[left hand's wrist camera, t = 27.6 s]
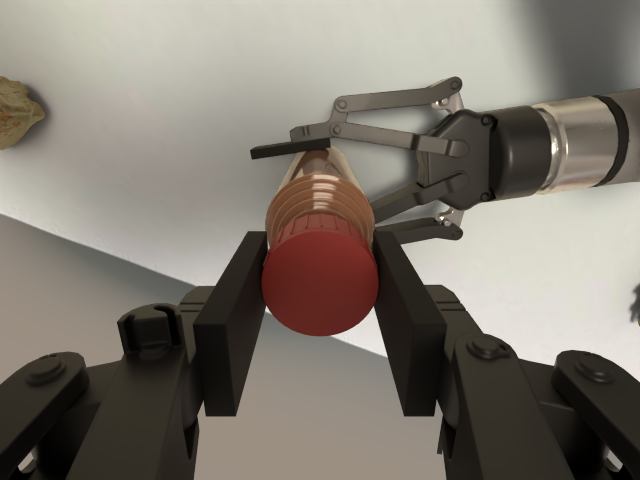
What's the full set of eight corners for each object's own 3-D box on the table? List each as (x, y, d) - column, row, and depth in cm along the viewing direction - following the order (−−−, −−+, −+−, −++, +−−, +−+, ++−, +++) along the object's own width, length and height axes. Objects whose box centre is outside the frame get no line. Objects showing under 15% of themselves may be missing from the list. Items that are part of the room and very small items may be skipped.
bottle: (325, 129, 35) (335, 167, 12) (358, 175, 37) (426, 288, 13) (280, 165, 36) (210, 263, 13) (315, 208, 38) (307, 363, 15)
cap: (260, 217, 14) (250, 235, 12) (369, 207, 14) (377, 223, 12) (275, 312, 15) (269, 342, 13) (374, 303, 15) (382, 332, 13)
